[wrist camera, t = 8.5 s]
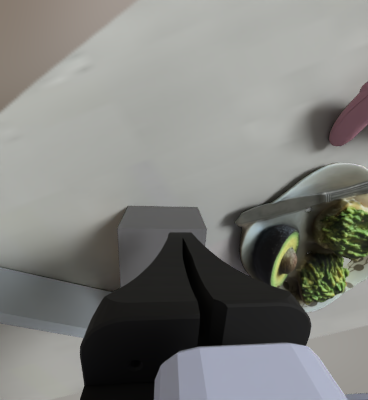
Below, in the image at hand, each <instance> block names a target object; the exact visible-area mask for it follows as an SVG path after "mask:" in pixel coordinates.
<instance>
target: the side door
mask: <svg viewBox="0 0 368 400" xmlns="http://www.w3.org/2000/svg"><path fill="white" fill-rule="evenodd" d="M110 293H112V292H109V291H104V290H100V289H95V288H91V287H86V286H82V285H77V284H73V283H68V282H64V281H59V280H55V279H50V278H46V277H41V276H37V275H32V274H28V273H23V272H19V271H14V270H10V269H5V268H1V267H0V323H1V324H7V325H13V326H19V327H24V328H30V329H36V330H41V331H47V332H53V333H58V334H64V335H70V336H75V337H81V338H84V335H85V333H86V330H87V328H88V325H89V323H90V321H91V319H92V317H93V315H94V313H95V311H96V309H97V308H98V306H99V304H100V303H101V301H102V299H103V298H104V296H106V295H108V294H110Z"/></svg>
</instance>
